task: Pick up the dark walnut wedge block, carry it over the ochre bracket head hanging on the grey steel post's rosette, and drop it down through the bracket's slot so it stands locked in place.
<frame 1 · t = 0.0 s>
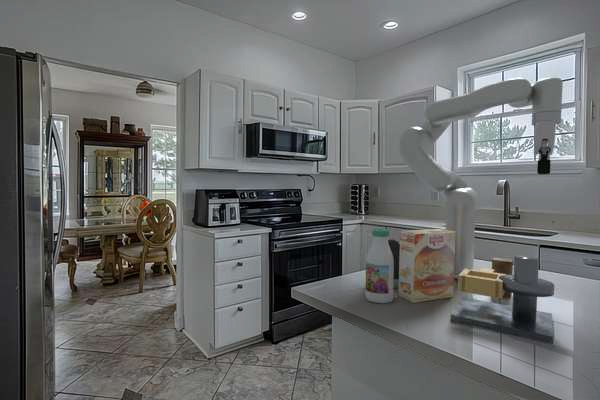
hand: (543, 173, 109), 37 cm above the countertop, tool pointing down, fingers open, 9 cm apart
milk bottle: (379, 300, 98), on the countertop
ringlock post: (501, 320, 84), on the countertop
coffeecake box: (425, 297, 101), on the countertop
walnut wedge: (501, 296, 102), on the countertop
ochre bracket: (484, 279, 89), point 8 cm above the countertop
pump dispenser: (391, 286, 112), on the countertop
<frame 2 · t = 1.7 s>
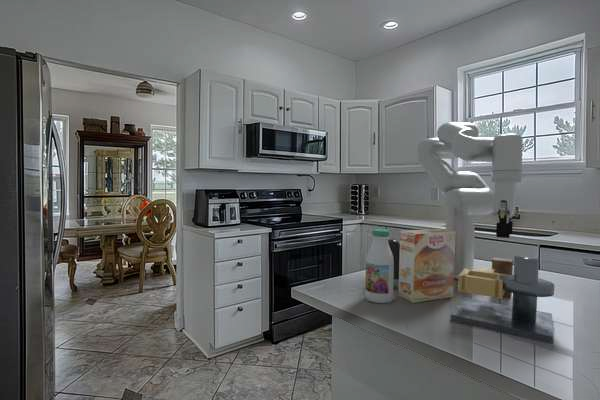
hand: (504, 235, 101), 18 cm above the countertop, tool pointing down, fingers open, 9 cm apart
nothing on the countertop moved.
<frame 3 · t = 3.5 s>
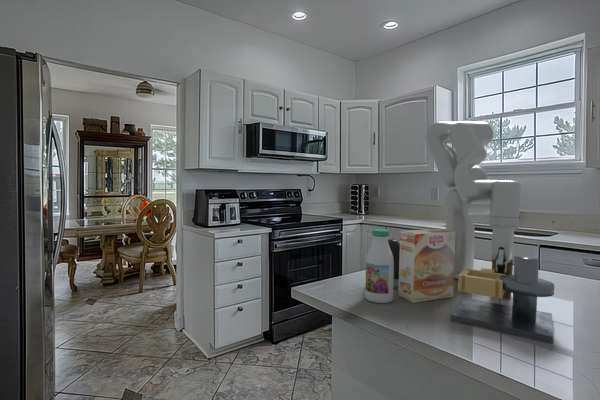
hand: (501, 283, 102), 4 cm above the countertop, tool pointing down, fingers closed on walnut wedge, 4 cm apart
walnut wedge: (500, 295, 102), on the countertop, touching gripper
everything else where it was.
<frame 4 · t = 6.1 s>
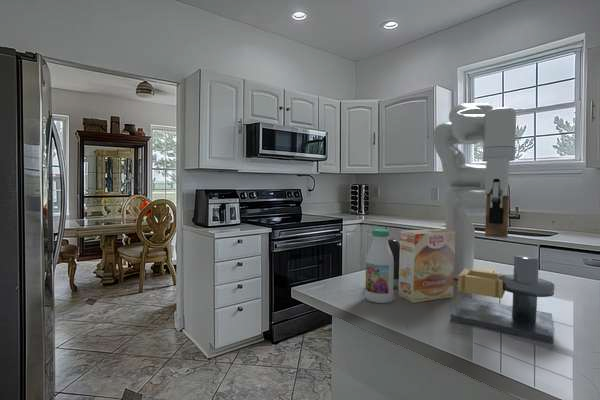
hand: (496, 222, 93), 23 cm above the countertop, tool pointing down, fingers closed on walnut wedge, 4 cm apart
walnut wedge: (496, 236, 93), point 19 cm above the countertop, touching gripper
everything else where it was.
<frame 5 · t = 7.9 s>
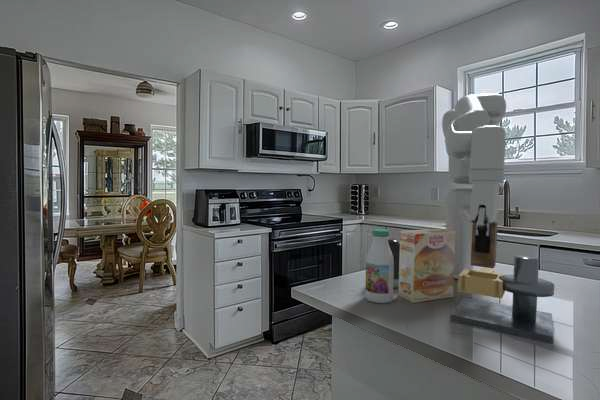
hand: (483, 250, 86), 17 cm above the countertop, tool pointing down, fingers closed on walnut wedge, 4 cm apart
walnut wedge: (483, 265, 86), point 13 cm above the countertop, touching gripper
everything else where it was.
when the fingers open (12 cm above the countertop, at t = 9.0 s): walnut wedge drops 7 cm, resting on ringlock post.
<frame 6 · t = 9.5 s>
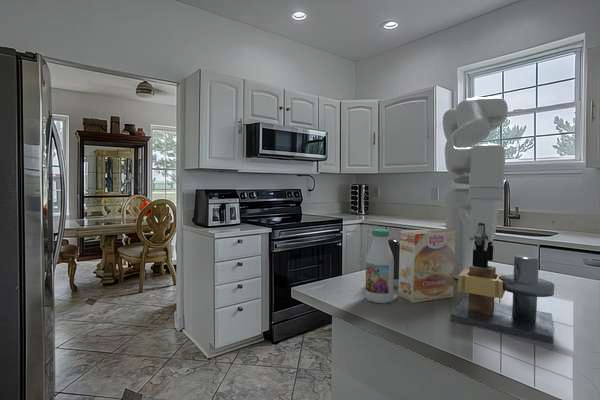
hand: (482, 263, 86), 13 cm above the countertop, tool pointing down, fingers open, 9 cm apart
walnut wedge: (481, 309, 87), point 1 cm above the countertop, touching ringlock post
everything else where it was.
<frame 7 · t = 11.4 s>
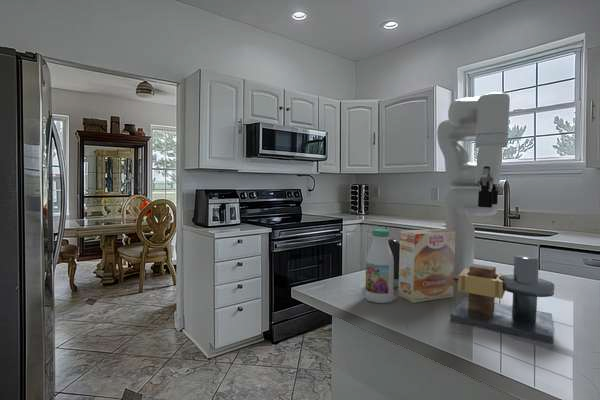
hand: (487, 205, 93), 27 cm above the countertop, tool pointing down, fingers open, 9 cm apart
nothing on the countertop moved.
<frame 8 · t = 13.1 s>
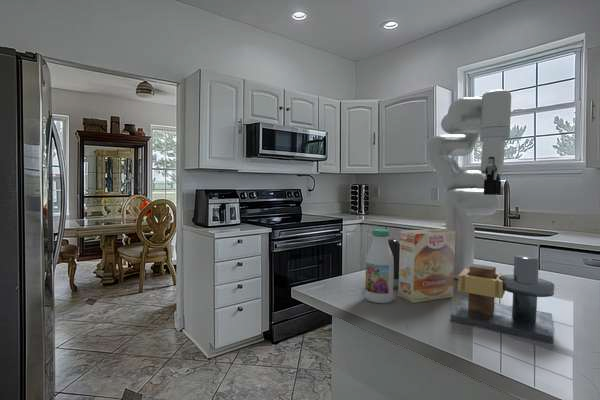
hand: (492, 194, 100), 30 cm above the countertop, tool pointing down, fingers open, 9 cm apart
nothing on the countertop moved.
at the end: walnut wedge 0.0 cm from the target spot on the ringlock post, point 1.5 cm above the ringlock post's base; walnut wedge tilted 0°; the gripper is holding nothing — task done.
